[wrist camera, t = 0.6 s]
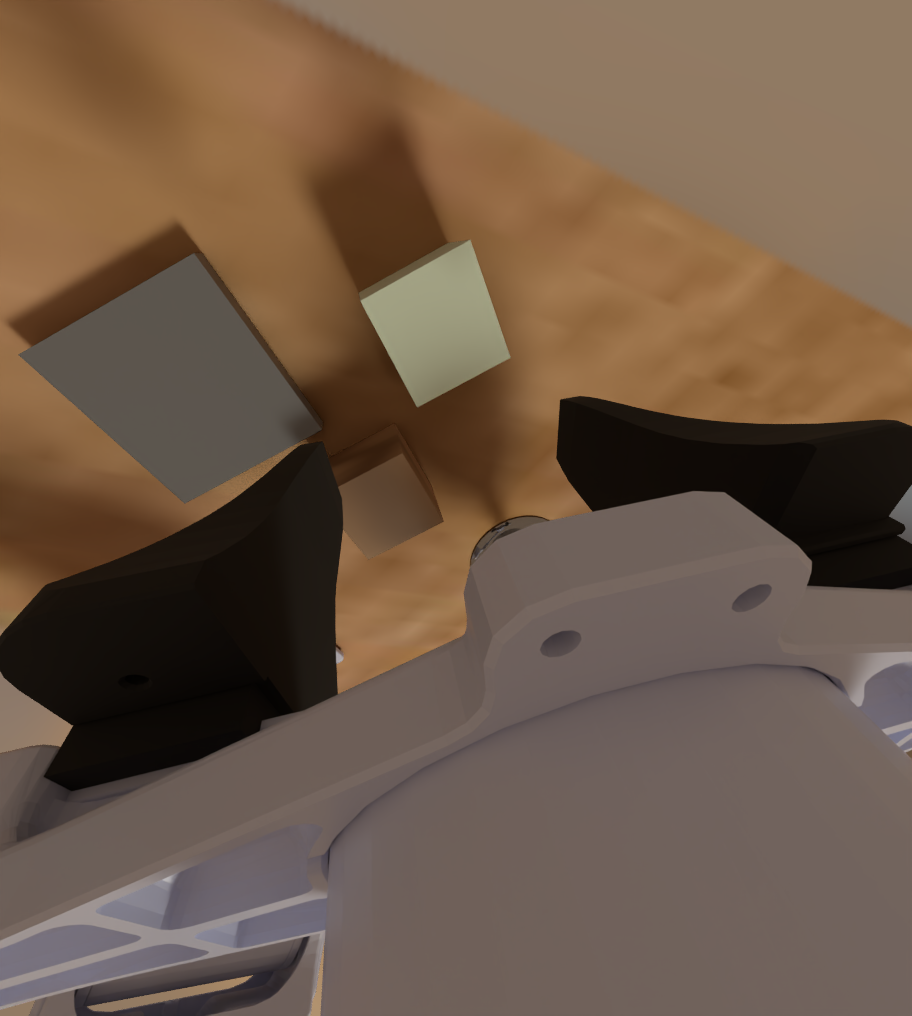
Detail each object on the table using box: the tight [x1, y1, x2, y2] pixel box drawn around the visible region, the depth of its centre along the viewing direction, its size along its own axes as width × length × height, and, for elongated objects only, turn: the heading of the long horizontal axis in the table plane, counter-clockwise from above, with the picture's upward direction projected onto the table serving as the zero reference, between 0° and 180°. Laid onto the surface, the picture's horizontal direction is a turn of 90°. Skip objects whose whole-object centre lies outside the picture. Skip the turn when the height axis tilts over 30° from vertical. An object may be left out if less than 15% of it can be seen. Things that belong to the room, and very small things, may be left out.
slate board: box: [19, 253, 323, 503], centre depth 17 cm, size 8×8×1 cm
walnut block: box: [328, 423, 444, 560], centre depth 21 cm, size 4×4×4 cm
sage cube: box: [359, 240, 511, 407], centre depth 17 cm, size 4×4×4 cm
